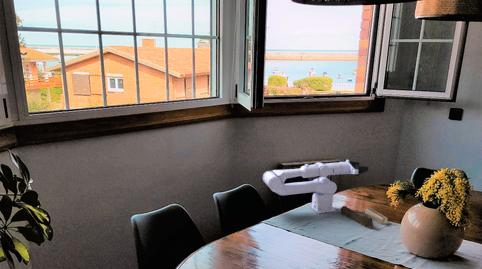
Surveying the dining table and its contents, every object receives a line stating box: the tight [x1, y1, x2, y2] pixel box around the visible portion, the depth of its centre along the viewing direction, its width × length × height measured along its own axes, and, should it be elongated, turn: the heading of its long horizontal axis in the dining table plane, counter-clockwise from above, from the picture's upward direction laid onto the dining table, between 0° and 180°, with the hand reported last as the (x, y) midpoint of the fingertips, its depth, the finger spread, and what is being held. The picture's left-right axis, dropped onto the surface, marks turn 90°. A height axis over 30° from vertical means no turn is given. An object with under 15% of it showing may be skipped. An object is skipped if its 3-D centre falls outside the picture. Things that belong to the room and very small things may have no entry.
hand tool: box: [339, 205, 374, 230], centre depth 164 cm, size 19×4×5 cm, turn 23°
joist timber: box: [364, 207, 388, 225], centre depth 167 cm, size 3×12×3 cm, turn 17°
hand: (363, 166), depth 177 cm, fingers open, 7 cm apart
